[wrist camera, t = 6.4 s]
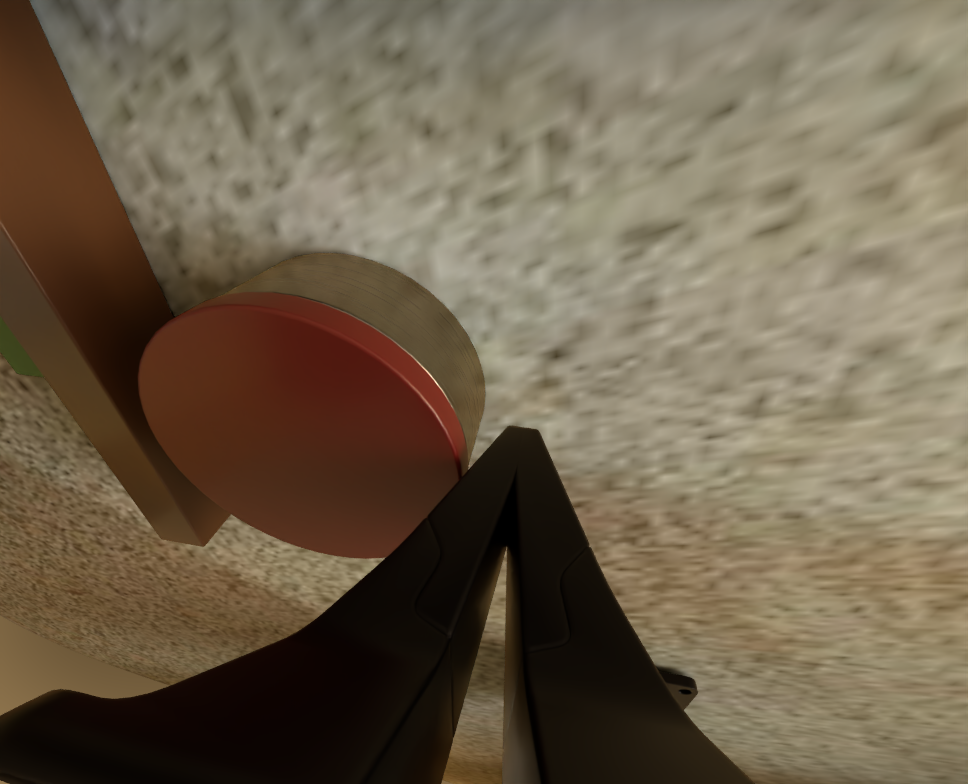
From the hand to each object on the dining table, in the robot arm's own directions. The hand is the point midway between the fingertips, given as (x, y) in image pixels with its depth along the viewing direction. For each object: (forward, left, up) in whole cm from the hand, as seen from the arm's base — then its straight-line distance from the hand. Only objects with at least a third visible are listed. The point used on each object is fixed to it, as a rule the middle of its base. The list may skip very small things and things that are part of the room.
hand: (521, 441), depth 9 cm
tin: (0, +5, -2) cm, 5 cm away
